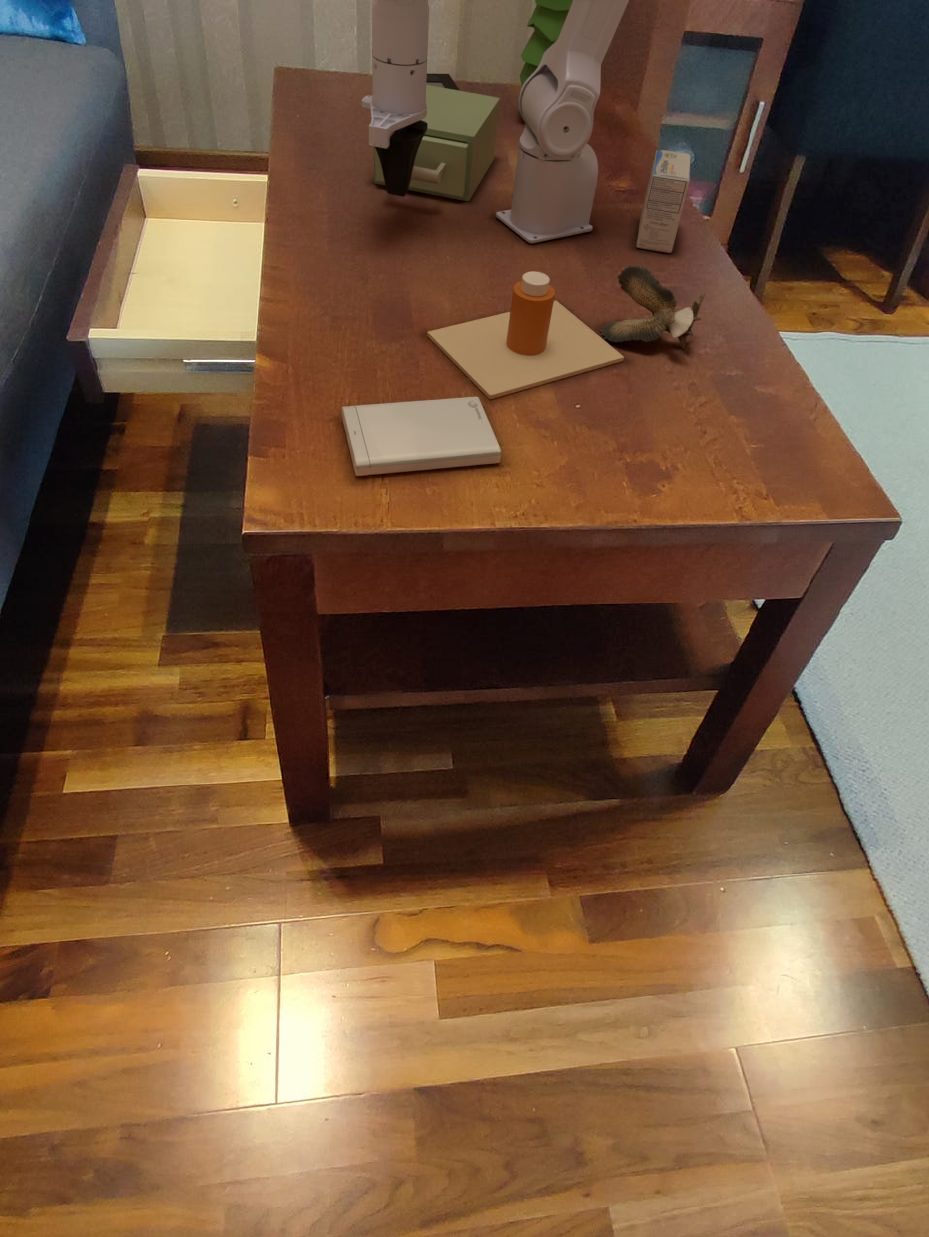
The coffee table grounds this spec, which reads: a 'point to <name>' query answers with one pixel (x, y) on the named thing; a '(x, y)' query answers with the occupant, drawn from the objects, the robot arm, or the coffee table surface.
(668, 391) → the coffee table surface
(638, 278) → the eagle figurine
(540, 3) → the decorative tree
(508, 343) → the bottle
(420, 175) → the drawer
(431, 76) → the vhs tape
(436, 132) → the cabinet
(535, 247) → the coffee table surface
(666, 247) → the medicine box
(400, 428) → the hard drive
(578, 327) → the mat
